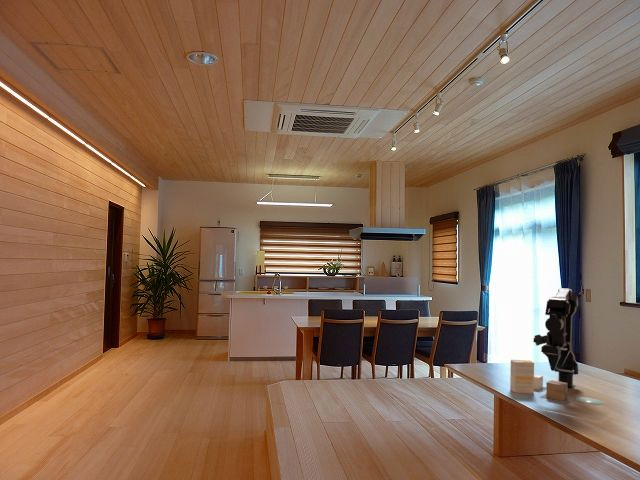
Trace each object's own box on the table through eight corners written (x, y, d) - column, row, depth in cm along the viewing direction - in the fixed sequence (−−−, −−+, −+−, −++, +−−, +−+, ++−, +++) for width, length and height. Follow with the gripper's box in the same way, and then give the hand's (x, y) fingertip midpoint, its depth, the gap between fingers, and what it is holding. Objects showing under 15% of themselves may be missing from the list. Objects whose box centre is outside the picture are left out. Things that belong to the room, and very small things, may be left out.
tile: (527, 384, 215) (527, 383, 215) (549, 388, 209) (549, 388, 209) (519, 387, 208) (519, 387, 208) (541, 392, 202) (541, 391, 202)
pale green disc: (580, 396, 198) (580, 395, 198) (608, 402, 191) (608, 401, 191) (572, 401, 190) (572, 400, 190) (601, 407, 183) (601, 406, 183)
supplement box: (530, 392, 202) (530, 360, 203) (533, 395, 197) (534, 362, 198) (509, 390, 203) (510, 359, 204) (512, 393, 198) (513, 361, 199)
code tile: (547, 394, 200) (547, 392, 200) (574, 399, 193) (574, 398, 193) (539, 398, 193) (539, 397, 193) (566, 404, 186) (566, 403, 186)
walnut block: (551, 394, 197) (551, 379, 197) (567, 398, 193) (567, 383, 193) (546, 397, 193) (546, 382, 193) (562, 401, 189) (562, 385, 189)
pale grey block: (530, 385, 212) (530, 373, 212) (542, 387, 208) (542, 376, 209) (526, 387, 208) (526, 375, 208) (538, 389, 205) (538, 377, 205)
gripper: (544, 325, 206) (543, 362, 206) (528, 329, 193) (527, 368, 192) (572, 328, 199) (571, 367, 198) (558, 332, 185) (557, 374, 185)
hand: (556, 368), depth 194 cm, fingers open, 9 cm apart
